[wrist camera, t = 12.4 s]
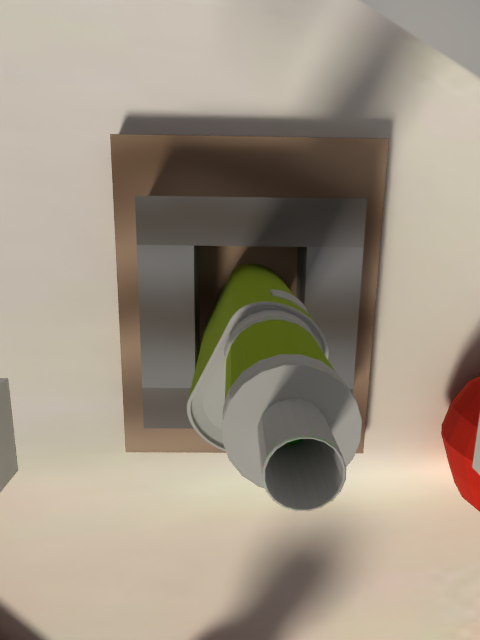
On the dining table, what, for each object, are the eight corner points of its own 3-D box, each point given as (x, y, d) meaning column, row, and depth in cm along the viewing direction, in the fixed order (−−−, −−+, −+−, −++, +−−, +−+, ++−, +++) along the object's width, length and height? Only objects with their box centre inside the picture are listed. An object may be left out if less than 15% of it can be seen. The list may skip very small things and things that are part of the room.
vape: (296, 279, 28) (444, 429, 8) (250, 361, 29) (288, 661, 10) (242, 251, 27) (267, 341, 8) (198, 336, 29) (126, 595, 9)
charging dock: (357, 442, 32) (379, 483, 27) (130, 441, 32) (112, 481, 27) (380, 142, 28) (412, 127, 23) (116, 138, 27) (91, 121, 22)
